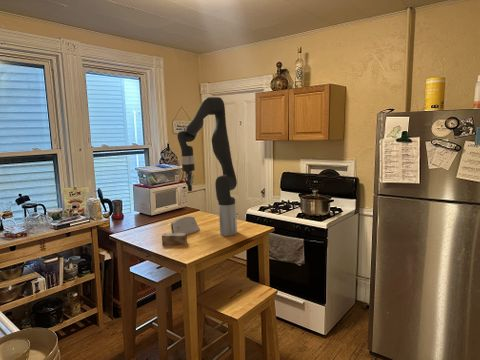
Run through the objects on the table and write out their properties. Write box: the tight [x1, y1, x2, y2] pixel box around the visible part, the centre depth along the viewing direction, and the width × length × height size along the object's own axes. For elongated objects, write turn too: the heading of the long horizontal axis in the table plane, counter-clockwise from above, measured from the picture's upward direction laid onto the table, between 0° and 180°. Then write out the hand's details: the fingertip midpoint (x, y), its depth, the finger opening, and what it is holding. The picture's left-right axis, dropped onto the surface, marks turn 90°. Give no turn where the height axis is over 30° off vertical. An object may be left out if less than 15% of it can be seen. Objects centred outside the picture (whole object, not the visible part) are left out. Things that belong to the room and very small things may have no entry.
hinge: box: [170, 216, 201, 235], centre depth 187 cm, size 17×5×10 cm, turn 136°
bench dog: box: [161, 232, 188, 246], centre depth 168 cm, size 12×4×5 cm, turn 84°
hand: (190, 190), depth 201 cm, fingers closed
